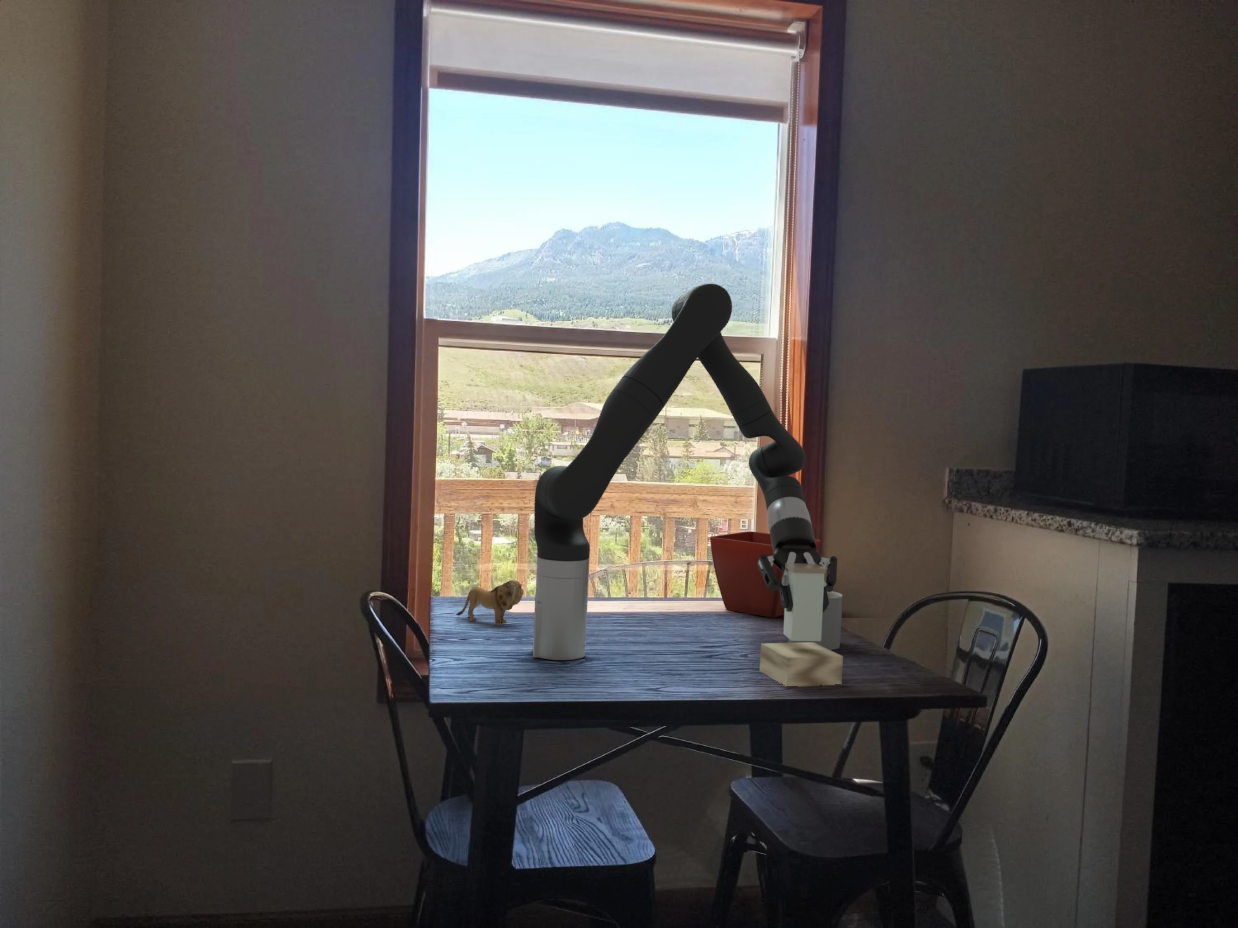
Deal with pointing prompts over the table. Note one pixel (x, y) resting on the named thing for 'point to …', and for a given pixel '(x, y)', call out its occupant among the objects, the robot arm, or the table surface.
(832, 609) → the coffee mug
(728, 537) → the plant pot
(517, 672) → the table surface
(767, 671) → the maple block
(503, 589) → the lion figurine
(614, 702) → the table surface
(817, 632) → the sage canister
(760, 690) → the table surface
